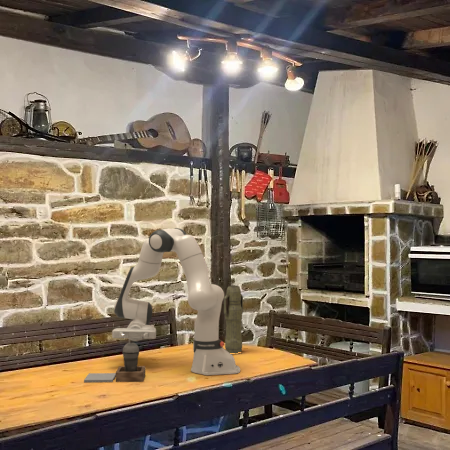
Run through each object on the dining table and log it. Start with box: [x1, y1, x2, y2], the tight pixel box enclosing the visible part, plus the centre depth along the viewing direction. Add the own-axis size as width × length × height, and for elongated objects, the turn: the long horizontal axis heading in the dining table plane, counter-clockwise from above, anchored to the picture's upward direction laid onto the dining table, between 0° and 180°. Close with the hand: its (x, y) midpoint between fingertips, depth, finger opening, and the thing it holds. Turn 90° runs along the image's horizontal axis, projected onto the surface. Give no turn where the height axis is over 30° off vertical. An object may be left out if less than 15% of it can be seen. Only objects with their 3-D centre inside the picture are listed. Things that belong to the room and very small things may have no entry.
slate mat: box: [83, 372, 116, 383], centre depth 263 cm, size 12×12×1 cm
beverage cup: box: [122, 332, 140, 372], centre depth 264 cm, size 7×7×20 cm
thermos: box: [223, 285, 244, 353], centre depth 319 cm, size 9×12×35 cm
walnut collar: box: [115, 365, 146, 383], centre depth 263 cm, size 12×12×4 cm
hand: (132, 336), depth 276 cm, fingers open, 8 cm apart
